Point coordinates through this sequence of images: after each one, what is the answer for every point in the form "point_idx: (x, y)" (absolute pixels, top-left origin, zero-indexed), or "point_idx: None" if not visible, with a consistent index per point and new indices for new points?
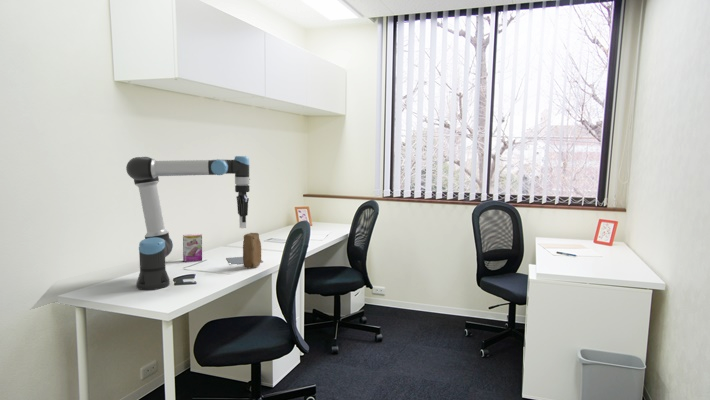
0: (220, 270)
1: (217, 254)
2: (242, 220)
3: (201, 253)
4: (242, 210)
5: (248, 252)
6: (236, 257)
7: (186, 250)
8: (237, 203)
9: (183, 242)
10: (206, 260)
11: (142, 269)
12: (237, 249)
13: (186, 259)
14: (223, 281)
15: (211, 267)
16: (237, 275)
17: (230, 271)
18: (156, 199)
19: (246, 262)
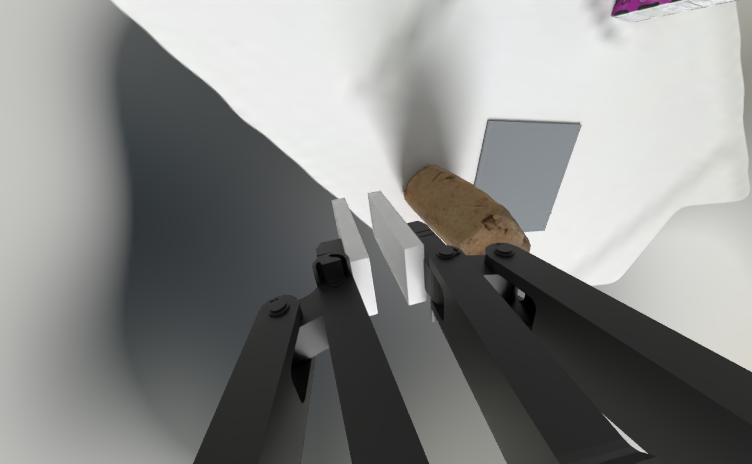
0: (430, 65)
1: (650, 101)
2: (339, 249)
3: (645, 5)
4: (334, 359)
5: (430, 197)
6: (565, 161)
7: None
8: (730, 378)
9: None
10: (603, 38)
11: None
12: (656, 181)
13: None
14: (248, 40)
15: (493, 35)
16: (329, 121)
17: (398, 104)
18: None
19: (422, 177)
